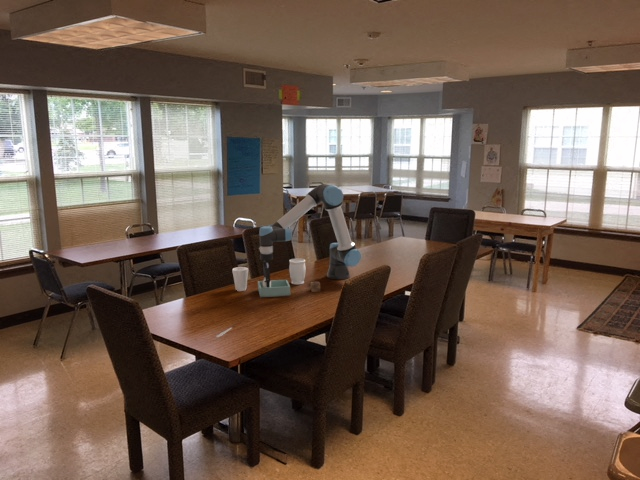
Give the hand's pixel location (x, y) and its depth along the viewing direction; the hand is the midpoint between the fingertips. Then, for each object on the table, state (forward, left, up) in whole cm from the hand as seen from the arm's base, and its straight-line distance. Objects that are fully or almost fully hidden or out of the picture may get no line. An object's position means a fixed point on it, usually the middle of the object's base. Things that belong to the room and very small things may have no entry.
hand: (267, 290), depth 302 cm
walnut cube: (-29, 0, -2) cm, 29 cm away
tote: (-4, 0, -2) cm, 4 cm away
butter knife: (+22, +54, -2) cm, 58 cm away
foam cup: (+15, -10, -2) cm, 18 cm away
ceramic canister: (0, 0, -1) cm, 1 cm away
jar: (-21, -18, -2) cm, 28 cm away
